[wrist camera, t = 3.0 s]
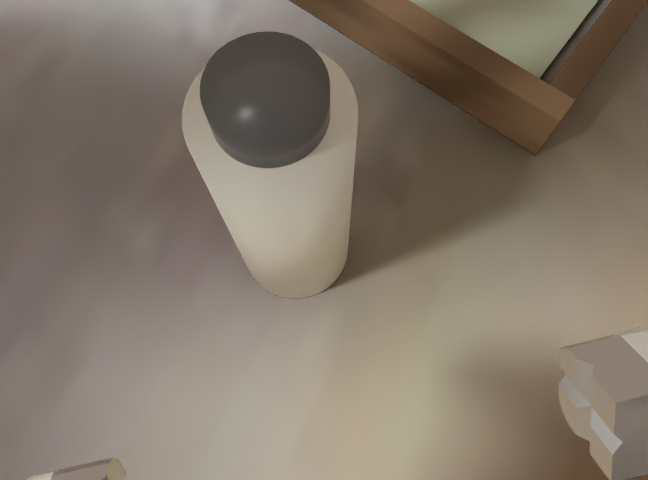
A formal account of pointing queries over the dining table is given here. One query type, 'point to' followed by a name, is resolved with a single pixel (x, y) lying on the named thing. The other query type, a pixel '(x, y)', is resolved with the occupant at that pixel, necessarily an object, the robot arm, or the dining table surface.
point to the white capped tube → (277, 157)
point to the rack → (487, 52)
